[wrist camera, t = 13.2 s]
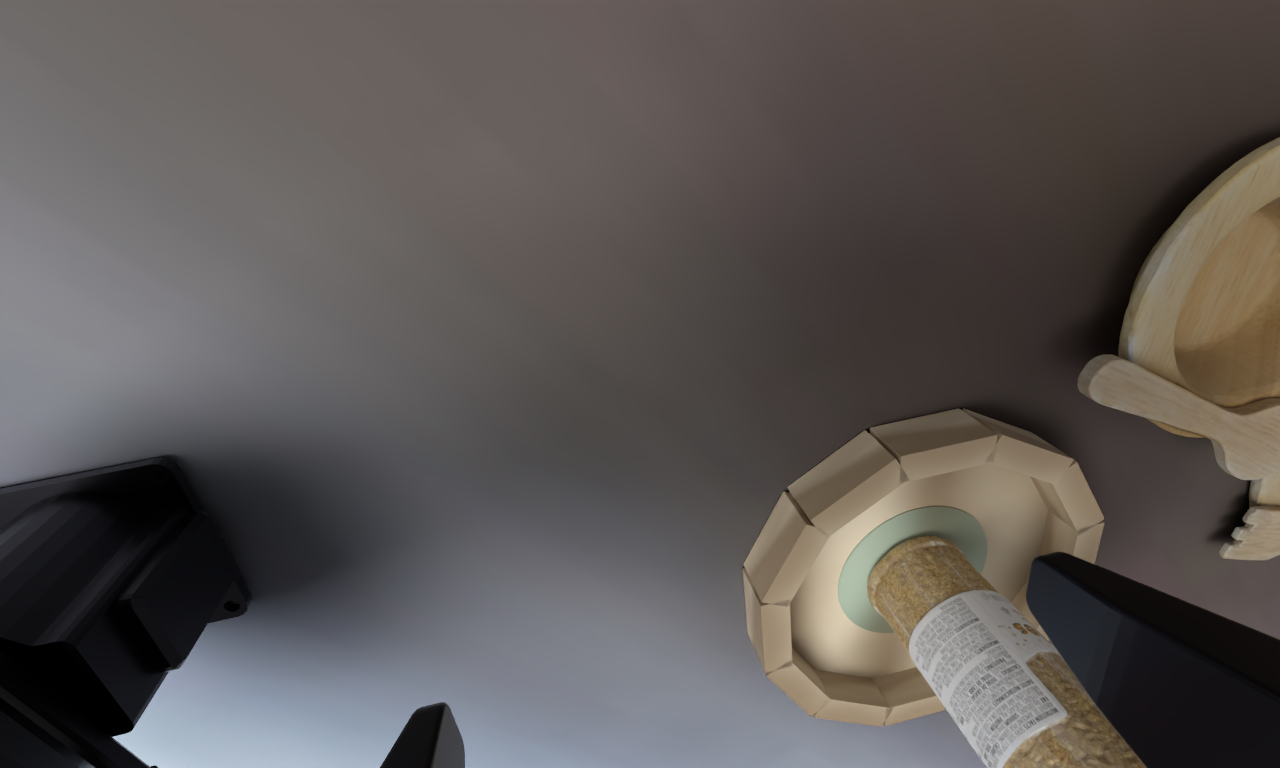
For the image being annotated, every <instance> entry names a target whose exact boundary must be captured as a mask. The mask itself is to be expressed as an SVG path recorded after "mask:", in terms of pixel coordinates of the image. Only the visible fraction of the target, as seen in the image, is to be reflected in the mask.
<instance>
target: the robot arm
mask: <svg viewBox="0 0 1280 768" xmlns="http://www.w3.org/2000/svg"><path fill="white" fill-rule="evenodd" d="M156 471H160V472H162V473H164V474H165V475H166V477H167V478H163V477H161V476H159V475H158V474H157V473H156ZM231 601H235V602H237V603H236V604H235V603H233V602H231ZM251 601H252V597H251V594H250V592H249V590H248V588H247V587H246V585H245V583H244V581H243V579H242V578H241V576H240V574H239V568H238V566H237V565H236V563H235V561H234V559H233V557H232V556H231V554H230V552H229V550H228V548H227V546H226V545H225V543H224V541H223V539H222V537H221V536H220V534H219V532H218V530H217V528H216V526H215V525H214V523H213V521H212V519H211V517H210V516H209V515H208V514H207V513H206V512H205V511H204V509H203V507H202V505H201V503H200V502H199V500H198V498H197V496H196V494H195V493H194V491H193V489H192V487H191V485H190V483H189V482H188V480H187V478H186V476H185V474H184V473H183V471H182V469H181V467H180V466H179V465H178V464H177V463H176V462H174V461H173V460H171V459H167V458H154V459H148V460H143V461H138V462H133V463H128V464H123V465H118V466H113V467H108V468H103V469H98V470H93V471H88V472H83V473H78V474H72V475H67V476H62V477H57V478H52V479H47V480H42V481H37V482H32V483H27V484H22V485H17V486H12V487H7V488H2V489H0V768H158V767H157V766H151V767H149V766H148V765H147V764H146V763H144V762H143V761H142V760H140V759H139V758H138V757H137V756H135V755H134V754H133V753H132V752H130V751H129V750H128V749H126V748H125V747H124V746H123V745H121V744H120V743H119V742H118V741H116V740H115V739H114V738H112V737H113V736H117V735H121V734H125V733H128V732H130V731H132V730H133V728H134V726H135V725H136V723H137V722H138V720H139V718H140V717H141V715H142V714H143V712H144V710H145V709H146V707H147V706H148V704H149V702H150V701H151V699H152V698H153V696H154V695H155V693H156V691H157V690H158V688H159V687H160V685H161V683H162V682H163V680H164V679H165V677H166V675H167V674H168V672H169V671H171V670H175V669H179V668H180V667H181V666H182V664H183V663H184V661H185V660H186V658H187V656H188V655H189V653H190V651H191V650H192V648H193V646H194V645H195V643H196V642H197V640H198V638H199V637H200V635H201V633H202V632H203V630H204V628H205V627H206V625H207V623H211V622H216V621H220V620H225V619H229V618H233V617H238V616H240V615H243V614H244V613H245V612H246V611H247V609H248V607H249V606H250V604H251ZM1026 602H1027V605H1028V607H1029V610H1030V611H1031V613H1032V615H1033V616H1034V617H1035V619H1036V620H1037V622H1038V623H1039V625H1040V626H1041V628H1042V629H1043V631H1044V632H1045V633H1046V635H1047V636H1048V638H1049V639H1050V641H1051V642H1052V644H1053V645H1054V646H1055V648H1056V649H1057V651H1058V652H1059V654H1060V655H1061V657H1062V658H1063V659H1064V661H1065V662H1066V664H1067V665H1068V667H1069V668H1070V670H1071V671H1072V672H1073V674H1074V675H1075V677H1076V678H1077V680H1078V681H1079V683H1080V684H1081V686H1082V687H1083V688H1084V690H1085V691H1086V693H1087V694H1088V695H1089V697H1090V698H1091V699H1092V701H1093V702H1094V703H1095V705H1096V706H1097V707H1098V709H1099V710H1100V711H1101V712H1102V714H1103V715H1104V716H1105V717H1106V719H1107V720H1108V721H1109V722H1110V724H1111V725H1112V726H1113V727H1114V729H1115V730H1116V731H1117V732H1118V733H1119V735H1120V736H1121V737H1122V738H1123V739H1124V741H1125V742H1126V743H1127V744H1128V745H1129V747H1130V748H1131V749H1132V750H1133V752H1134V753H1135V754H1136V755H1137V756H1138V758H1139V759H1140V760H1141V761H1142V762H1143V764H1144V765H1145V766H1146V767H1147V768H1280V640H1279V639H1277V638H1275V637H1272V636H1270V635H1267V634H1265V633H1262V632H1260V631H1257V630H1255V629H1252V628H1250V627H1247V626H1245V625H1243V624H1240V623H1238V622H1235V621H1233V620H1230V619H1228V618H1225V617H1223V616H1220V615H1218V614H1215V613H1213V612H1211V611H1208V610H1206V609H1203V608H1201V607H1198V606H1196V605H1193V604H1191V603H1188V602H1186V601H1184V600H1181V599H1179V598H1176V597H1174V596H1171V595H1169V594H1166V593H1164V592H1161V591H1159V590H1156V589H1154V588H1152V587H1149V586H1147V585H1144V584H1142V583H1139V582H1137V581H1134V580H1132V579H1129V578H1127V577H1124V576H1122V575H1120V574H1117V573H1115V572H1112V571H1110V570H1107V569H1105V568H1102V567H1100V566H1097V565H1095V564H1093V563H1090V562H1088V561H1085V560H1083V559H1080V558H1078V557H1075V556H1073V555H1070V554H1068V553H1065V552H1053V553H1049V554H1045V555H1041V556H1037V557H1035V558H1034V560H1033V561H1032V563H1031V568H1030V573H1029V579H1028V584H1027V589H1026ZM380 768H465V753H464V744H463V740H462V737H461V734H460V732H459V729H458V727H457V724H456V722H455V719H454V717H453V715H452V712H451V710H450V707H449V706H448V705H447V704H446V703H444V702H443V703H442V702H441V703H437V704H433V705H429V706H425V707H421V708H419V709H417V710H416V711H415V712H414V713H413V715H412V716H411V718H410V719H409V721H408V723H407V724H406V726H405V728H404V729H403V731H402V732H401V734H400V736H399V737H398V739H397V741H396V742H395V744H394V746H393V747H392V749H391V751H390V752H389V754H388V755H387V757H386V759H385V760H384V762H383V764H382V765H381V767H380Z"/></svg>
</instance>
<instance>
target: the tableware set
mask: <svg viewBox="0 0 1280 768" xmlns="http://www.w3.org/2000/svg"><path fill="white" fill-rule="evenodd" d="M1118 352H1119V357H1117V356H1115V355H1100V356H1096V357H1094V358H1093V359H1091V360H1090V361H1089V362H1088V363H1087V364H1086V366H1085V367H1084V368H1083V370H1082V371H1081V373H1080V374H1079V376H1078V381H1077V387H1078V389H1079V391H1080V392H1081V393H1082V394H1083V395H1085V396H1086V397H1088V398H1090V399H1092V400H1094V401H1095V402H1097V403H1099V404H1102V405H1104V406H1107V407H1111V408H1114V409H1117V410H1121V411H1124V412H1127V413H1131V414H1134V415H1138V416H1141V417H1145V418H1147V419H1148V420H1149V421H1150V422H1152V423H1154V424H1155V425H1157V426H1159V427H1161V428H1163V429H1165V430H1167V431H1169V432H1171V433H1174V434H1177V435H1181V436H1185V437H1192V438H1209V439H1210V440H1211V441H1212V444H1213V447H1214V454H1215V458H1216V462H1217V463H1218V465H1219V467H1220V468H1221V469H1223V470H1224V471H1225V472H1226V473H1228V474H1230V475H1232V476H1234V477H1237V478H1239V479H1241V480H1251V483H1250V489H1249V510H1248V511H1247V513H1246V514H1245V515H1244V517H1243V522H1245V523H1247V524H1246V525H1245V526H1242V527H1236V528H1235V529H1234V531H1233V532H1232V534H1231V536H1232V537H1233V538H1234V539H1235V540H1234V541H1233V542H1230V543H1224V545H1223V546H1222V548H1221V550H1220V551H1219V555H1220V556H1221V557H1222V558H1226V559H1238V560H1268V559H1271V558H1273V557H1276V556H1278V555H1280V137H1278V138H1277V139H1275V140H1273V141H1271V142H1269V143H1267V144H1265V145H1263V146H1261V147H1259V148H1257V149H1255V150H1254V151H1252V152H1251V153H1249V154H1248V155H1246V156H1245V157H1243V158H1242V159H1240V160H1239V161H1237V162H1236V163H1235V164H1233V165H1232V166H1231V167H1229V168H1228V169H1227V170H1225V171H1224V172H1223V173H1221V174H1220V175H1219V176H1218V177H1217V178H1216V179H1215V180H1214V181H1213V182H1211V183H1210V184H1209V185H1208V186H1207V187H1206V188H1205V189H1204V190H1203V191H1202V192H1201V193H1200V194H1199V195H1198V196H1197V197H1196V198H1195V199H1194V200H1193V201H1192V202H1191V203H1190V204H1189V205H1188V206H1187V207H1186V208H1185V209H1184V211H1183V212H1182V213H1181V214H1180V216H1179V217H1178V218H1177V219H1176V221H1175V222H1174V223H1173V224H1172V226H1171V227H1169V228H1168V229H1167V231H1166V232H1165V233H1164V234H1163V235H1162V236H1161V238H1160V239H1159V240H1158V242H1157V243H1156V244H1155V245H1154V247H1153V248H1152V250H1151V251H1150V253H1149V255H1148V256H1147V258H1146V259H1145V261H1144V263H1143V265H1142V267H1141V269H1140V271H1139V273H1138V275H1137V277H1136V280H1135V282H1134V285H1133V288H1132V292H1131V295H1130V300H1129V304H1128V307H1127V309H1126V312H1125V316H1124V320H1123V325H1122V329H1121V333H1120V340H1119V349H1118Z"/></svg>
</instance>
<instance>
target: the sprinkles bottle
mask: <svg viewBox="0 0 1280 768" xmlns="http://www.w3.org/2000/svg"><path fill="white" fill-rule="evenodd" d="M867 590H868V598H869V600H870V603H871V605H872V606H873V608H874V609H875V610H876V611H877V612H878V613H879V614H880V615H882V616H883V617H884V618H885V619H886V621H887V622H888V623H889V625H890V626H891V628H892V629H893V631H894V632H895V634H896V635H897V636H898V638H899V639H900V640H901V642H902V644H903V645H904V646H905V647H906V649H907V650H908V652H909V654H910V657H911V659H912V661H913V662H914V664H915V665H916V667H917V668H918V670H919V671H920V672H921V674H922V675H923V677H924V678H925V680H926V681H927V683H928V684H929V685H930V687H931V688H932V690H933V691H934V693H935V694H936V696H937V697H938V699H939V700H940V701H941V703H942V704H943V706H944V707H945V709H946V710H947V712H948V713H949V714H950V716H951V717H952V719H953V720H954V722H955V723H956V724H957V726H958V727H959V729H960V730H961V732H962V733H963V734H964V736H965V737H966V739H967V740H968V742H969V743H970V745H971V746H972V747H973V749H974V750H975V752H976V753H977V754H978V756H979V757H980V759H981V760H982V762H983V763H984V764H985V766H986V767H987V768H1147V767H1146V766H1145V765H1144V764H1143V762H1142V761H1141V760H1140V759H1139V758H1138V756H1137V755H1136V754H1135V753H1134V752H1133V750H1132V749H1131V748H1130V747H1129V745H1128V744H1127V743H1126V742H1125V741H1124V739H1123V738H1122V737H1121V736H1120V735H1119V733H1118V732H1117V731H1116V730H1115V729H1114V727H1113V726H1112V725H1111V724H1110V722H1109V721H1108V720H1107V719H1106V717H1105V716H1104V715H1103V714H1102V712H1101V711H1100V710H1099V709H1098V707H1097V706H1096V705H1095V703H1094V702H1093V701H1092V699H1091V698H1090V697H1089V695H1088V694H1087V693H1086V691H1085V690H1084V688H1083V687H1082V686H1081V684H1080V683H1079V681H1078V680H1077V678H1076V677H1075V675H1074V674H1073V672H1072V671H1071V670H1070V668H1069V667H1068V665H1067V664H1066V662H1065V661H1064V659H1063V658H1062V657H1061V655H1060V654H1059V652H1058V651H1057V650H1056V649H1055V647H1054V646H1053V645H1052V644H1051V643H1050V642H1049V641H1048V640H1047V639H1046V638H1045V637H1044V636H1043V635H1042V634H1041V633H1040V632H1039V631H1038V630H1037V629H1036V628H1035V627H1034V626H1033V625H1032V624H1031V623H1030V622H1029V621H1028V620H1027V619H1026V618H1025V617H1024V616H1023V615H1022V614H1021V613H1020V612H1019V611H1018V610H1017V608H1016V607H1015V606H1014V605H1013V604H1012V603H1011V602H1010V601H1009V600H1008V599H1007V598H1005V597H1004V596H1002V595H1001V594H1000V593H999V592H997V590H996V589H995V588H994V587H993V586H992V585H991V584H990V583H989V582H988V581H987V580H986V579H985V578H984V577H983V576H982V575H981V574H980V573H979V572H978V571H977V570H976V569H975V568H974V567H973V566H972V564H971V563H970V562H968V560H967V559H966V558H965V555H964V553H963V552H962V550H961V549H960V548H959V547H958V546H957V545H955V544H954V543H953V542H951V541H950V540H947V539H944V538H941V537H937V536H924V537H916V538H913V539H910V540H907V541H905V542H903V543H901V544H900V545H898V546H896V547H894V548H893V549H892V550H890V551H889V552H888V553H887V554H886V555H885V556H884V557H883V558H882V559H881V560H880V561H879V562H878V563H877V564H876V566H875V567H874V568H873V570H872V572H871V574H870V576H869V578H868V585H867Z"/></svg>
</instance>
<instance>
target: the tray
mask: <svg viewBox="0 0 1280 768" xmlns="http://www.w3.org/2000/svg"><path fill="white" fill-rule="evenodd" d="M787 488H788V489H789V491H790V492H785V491H783V493H782V495H781V497H780V498H779V500H778V502H777V504H776V506H775V507H774V509H773V511H772V513H771V515H770V517H769V518H768V520H767V522H766V524H765V526H764V527H763V529H762V531H761V533H760V535H759V537H758V538H757V540H756V542H755V544H754V546H753V547H752V549H751V551H750V553H749V555H748V557H747V558H746V560H745V562H744V564H743V565H744V567H745V568H742V569H743V581H744V594H745V606H746V618H747V630H748V634H749V637H750V639H751V641H752V644H753V646H754V648H755V651H756V653H757V655H758V658H759V660H760V662H761V664H762V667H763V669H764V671H765V674H766V676H767V677H768V678H769V679H770V680H771V681H773V682H774V683H775V684H776V685H777V686H778V687H779V688H780V689H781V690H782V691H783V692H785V693H786V694H787V695H788V696H789V697H790V698H791V699H792V700H793V701H794V702H796V703H797V704H798V705H799V706H800V707H801V708H802V709H803V710H804V711H805V712H806V713H808V714H809V715H810V716H811V715H813V717H814V718H821V719H828V720H836V721H843V722H851V723H858V724H866V725H873V726H882V724H883V723H884V725H885V726H887V725H891V724H895V723H898V722H902V721H906V720H910V719H913V718H917V717H921V716H924V715H928V714H932V713H935V712H939V711H943V710H946V709H945V707H944V706H943V704H942V703H941V701H940V700H939V699H938V697H937V696H936V694H935V693H934V691H933V690H932V688H931V687H930V685H929V684H928V683H927V681H926V680H925V678H924V677H923V675H922V674H921V672H920V671H919V670H918V668H917V667H916V665H915V664H914V662H913V661H912V659H911V657H910V654H909V652H908V650H907V649H906V647H905V646H904V645H903V644H902V642H901V640H900V639H899V638H898V636H897V635H896V634H895V632H894V631H893V629H892V628H891V626H890V625H889V623H888V622H887V621H886V619H885V618H884V617H883V616H882V615H880V614H879V613H878V612H877V611H876V610H875V609H874V608H873V606H872V605H871V603H870V600H869V598H868V590H867V585H868V578H869V576H870V574H871V572H872V570H873V568H874V567H875V566H876V564H877V563H878V562H879V561H880V560H881V559H882V558H883V557H884V556H885V555H886V554H887V553H888V552H889V551H890V550H892V549H893V548H894V547H896V546H898V545H900V544H901V543H903V542H905V541H907V540H910V539H913V538H916V537H924V536H937V537H941V538H944V539H947V540H950V541H951V542H953V543H954V544H955V545H957V546H958V547H959V548H960V549H961V550H962V552H963V553H964V555H965V558H966V559H967V560H968V562H970V563H971V564H972V566H973V567H974V568H975V569H976V570H977V571H978V572H979V573H980V574H981V575H982V576H983V577H984V578H985V579H986V580H987V581H988V582H989V583H990V584H991V585H992V586H993V587H994V588H995V589H996V590H997V592H999V593H1000V594H1001V595H1002V596H1004V597H1005V598H1007V599H1008V600H1009V601H1010V602H1011V603H1012V604H1013V605H1014V606H1015V607H1016V608H1017V610H1018V611H1019V612H1020V613H1021V614H1022V615H1023V616H1024V617H1025V618H1026V619H1027V620H1028V621H1029V622H1030V623H1031V624H1032V625H1033V626H1034V627H1035V628H1036V629H1037V630H1038V631H1039V632H1040V633H1041V634H1042V635H1043V636H1044V637H1045V638H1046V639H1047V640H1048V641H1049V640H1050V639H1049V638H1048V636H1047V635H1046V633H1045V632H1044V631H1043V629H1042V628H1041V626H1040V625H1039V623H1038V622H1037V620H1036V619H1035V617H1034V616H1033V615H1032V613H1031V611H1030V610H1029V607H1028V605H1027V602H1026V589H1027V584H1028V579H1029V573H1030V568H1031V563H1032V561H1033V560H1034V558H1035V557H1037V556H1041V555H1045V554H1049V553H1053V552H1065V553H1068V554H1070V555H1073V556H1075V557H1078V558H1080V559H1083V560H1085V561H1088V562H1090V563H1093V564H1095V560H1096V556H1097V552H1098V548H1099V544H1100V540H1101V536H1102V532H1103V528H1104V524H1105V522H1103V521H1102V520H1104V519H1105V518H1104V516H1103V514H1102V512H1101V510H1100V508H1099V506H1098V504H1097V502H1096V500H1095V498H1094V496H1093V494H1092V492H1091V490H1090V487H1089V485H1088V483H1087V481H1086V479H1085V477H1084V475H1083V473H1082V471H1081V469H1080V467H1079V465H1078V463H1077V462H1076V461H1075V460H1074V459H1073V458H1071V457H1070V456H1068V455H1066V454H1065V453H1063V452H1062V451H1060V450H1059V449H1057V448H1055V447H1054V446H1052V445H1051V444H1049V443H1048V442H1046V441H1044V440H1043V439H1041V438H1040V437H1038V436H1037V435H1035V434H1033V433H1032V432H1029V431H1026V430H1023V429H1021V428H1018V427H1015V426H1012V425H1009V424H1006V423H1004V422H1001V421H998V420H995V419H992V418H989V417H986V416H984V415H981V414H978V413H975V412H972V411H969V410H967V409H963V410H961V409H959V408H958V409H954V410H949V411H944V412H940V413H935V414H931V415H926V416H921V417H917V418H912V419H908V420H903V421H898V422H894V423H889V424H885V425H880V426H875V427H871V428H870V433H868V432H867V431H866V430H864V431H863V432H861V433H860V434H859V435H857V436H856V437H855V438H853V439H852V440H850V441H849V442H848V443H846V444H845V445H844V446H842V447H841V448H840V449H838V450H837V451H836V452H834V453H833V454H831V455H830V456H829V457H827V458H826V459H825V460H823V461H822V462H821V463H819V464H818V465H816V466H815V467H814V468H812V469H811V470H810V471H808V472H807V473H806V474H804V475H803V476H802V477H800V478H799V479H797V480H796V481H795V482H793V483H792V484H791V485H789V486H788V487H787Z"/></svg>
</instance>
